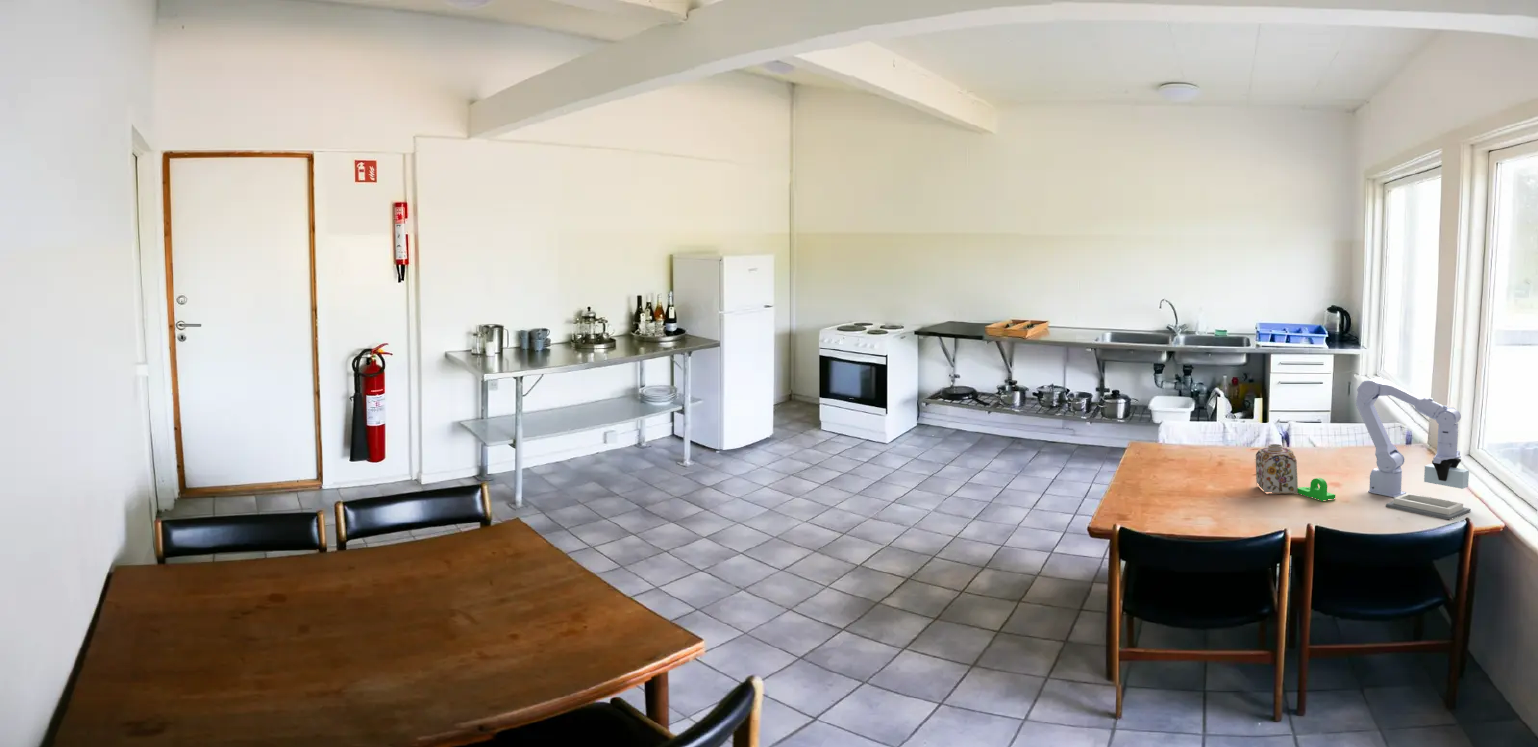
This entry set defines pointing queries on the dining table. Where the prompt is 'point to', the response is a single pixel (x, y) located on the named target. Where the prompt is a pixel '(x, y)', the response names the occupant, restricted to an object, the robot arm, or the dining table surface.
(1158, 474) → the dining table surface
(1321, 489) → the mechanical part
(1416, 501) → the cradle jig
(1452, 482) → the block
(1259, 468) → the decorative jar
